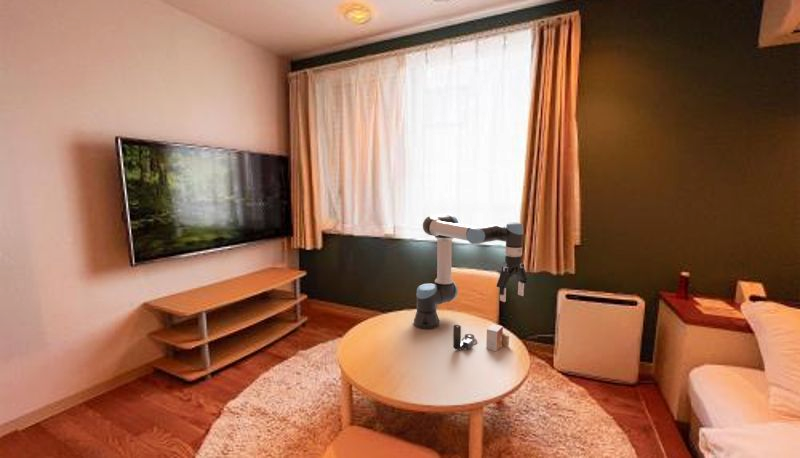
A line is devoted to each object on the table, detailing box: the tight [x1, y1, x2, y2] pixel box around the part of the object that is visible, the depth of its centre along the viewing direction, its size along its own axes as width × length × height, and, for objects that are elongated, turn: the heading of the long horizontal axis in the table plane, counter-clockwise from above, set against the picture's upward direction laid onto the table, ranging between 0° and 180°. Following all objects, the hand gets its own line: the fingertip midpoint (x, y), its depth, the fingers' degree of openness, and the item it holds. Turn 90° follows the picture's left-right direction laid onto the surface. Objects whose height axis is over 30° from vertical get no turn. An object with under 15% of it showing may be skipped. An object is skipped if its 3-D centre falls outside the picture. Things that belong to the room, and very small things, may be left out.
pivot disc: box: [461, 336, 478, 346], centre depth 174 cm, size 8×8×1 cm
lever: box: [452, 324, 475, 351], centre depth 168 cm, size 17×7×12 cm, turn 139°
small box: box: [485, 323, 504, 352], centre depth 167 cm, size 8×6×10 cm
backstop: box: [502, 332, 510, 348], centre depth 171 cm, size 8×2×6 cm, turn 34°
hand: (511, 298), depth 159 cm, fingers open, 13 cm apart
